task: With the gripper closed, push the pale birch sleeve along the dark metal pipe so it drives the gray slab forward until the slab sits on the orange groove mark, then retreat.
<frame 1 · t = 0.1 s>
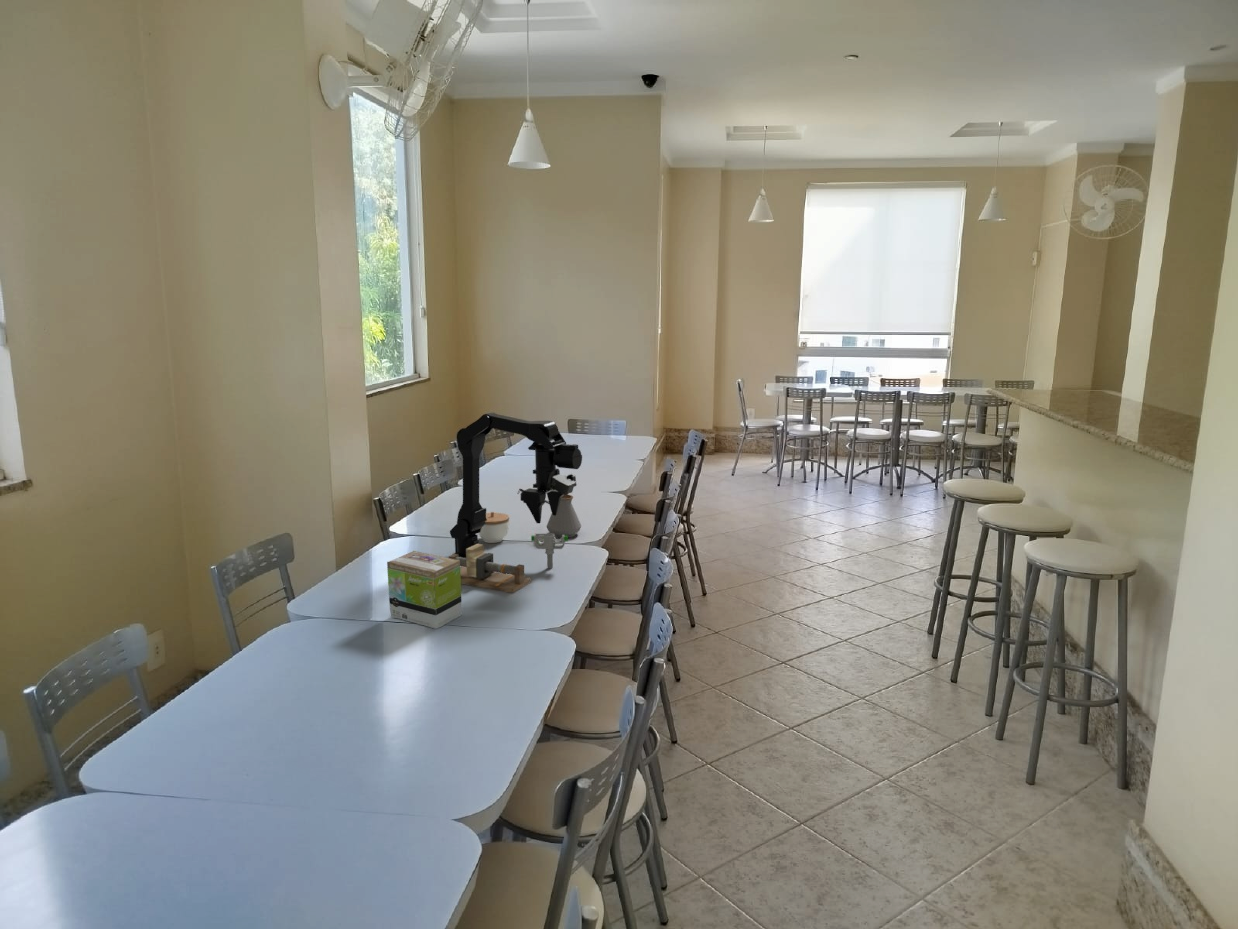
hand: (546, 519, 227), 15 cm above the table, fingers open, 9 cm apart
coffee pot: (549, 534, 264), on the table
sleeve: (476, 560, 219), point 6 cm above the table, slide at 0.0 cm
tea box: (426, 617, 195), on the table
pipe stand: (486, 581, 219), on the table
lidded jar: (493, 540, 256), on the table
gray slab: (485, 565, 218), point 5 cm above the table, slide at 0.0 cm
mechanical component: (549, 568, 230), on the table
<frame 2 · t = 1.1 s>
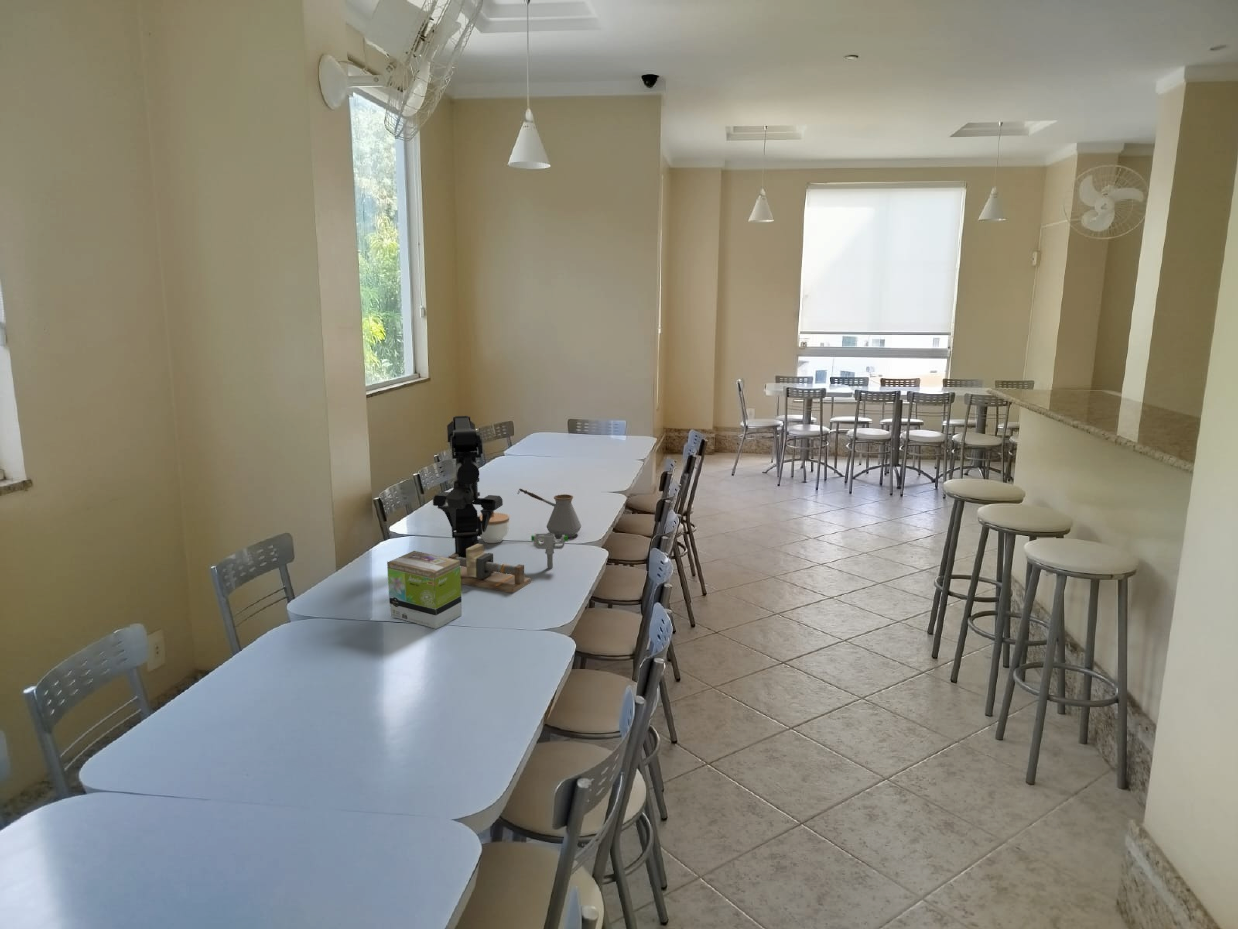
hand: (468, 530, 221), 13 cm above the table, fingers open, 9 cm apart
nothing on the table moved.
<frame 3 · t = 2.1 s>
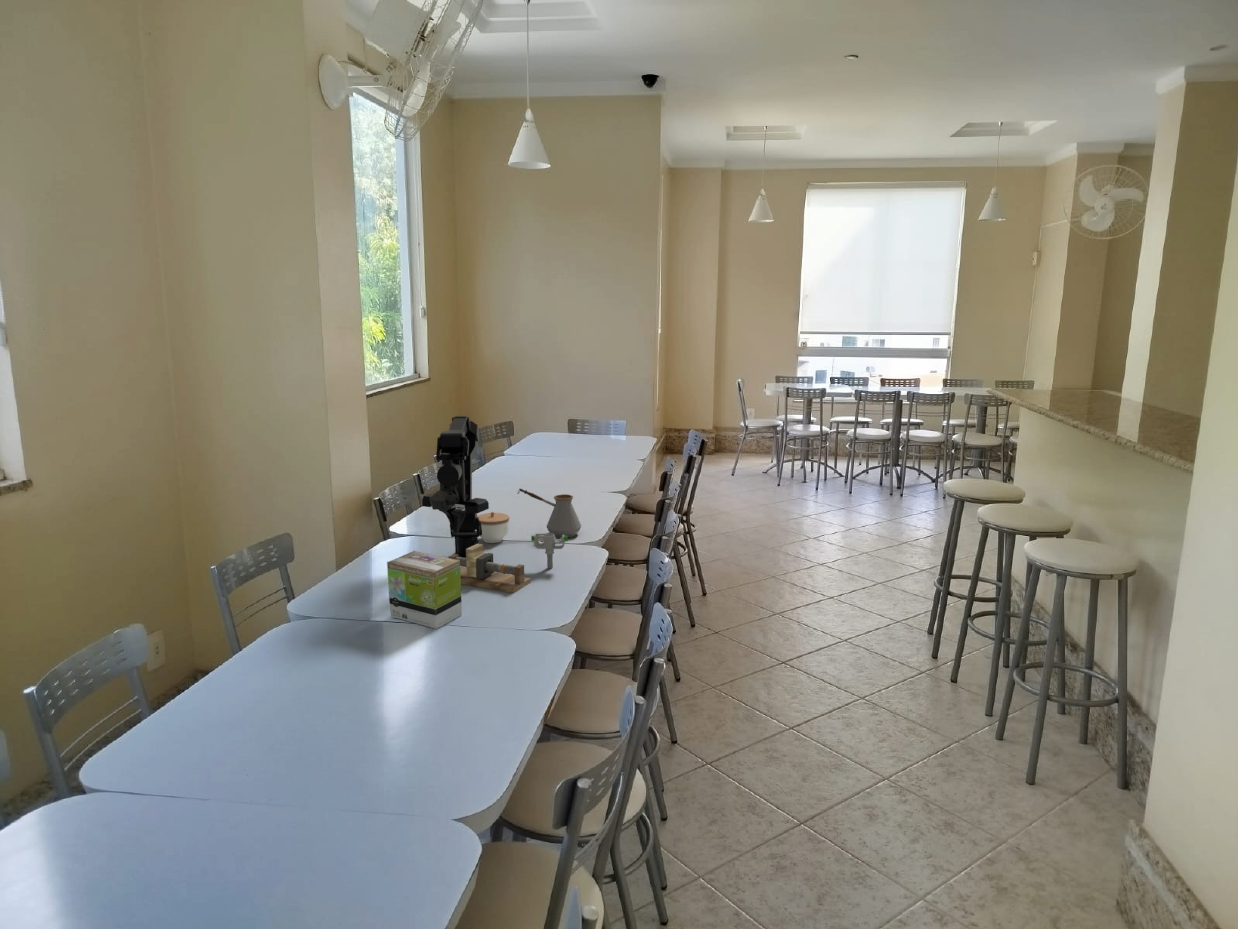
hand: (456, 532, 220), 13 cm above the table, fingers closed
nothing on the table moved.
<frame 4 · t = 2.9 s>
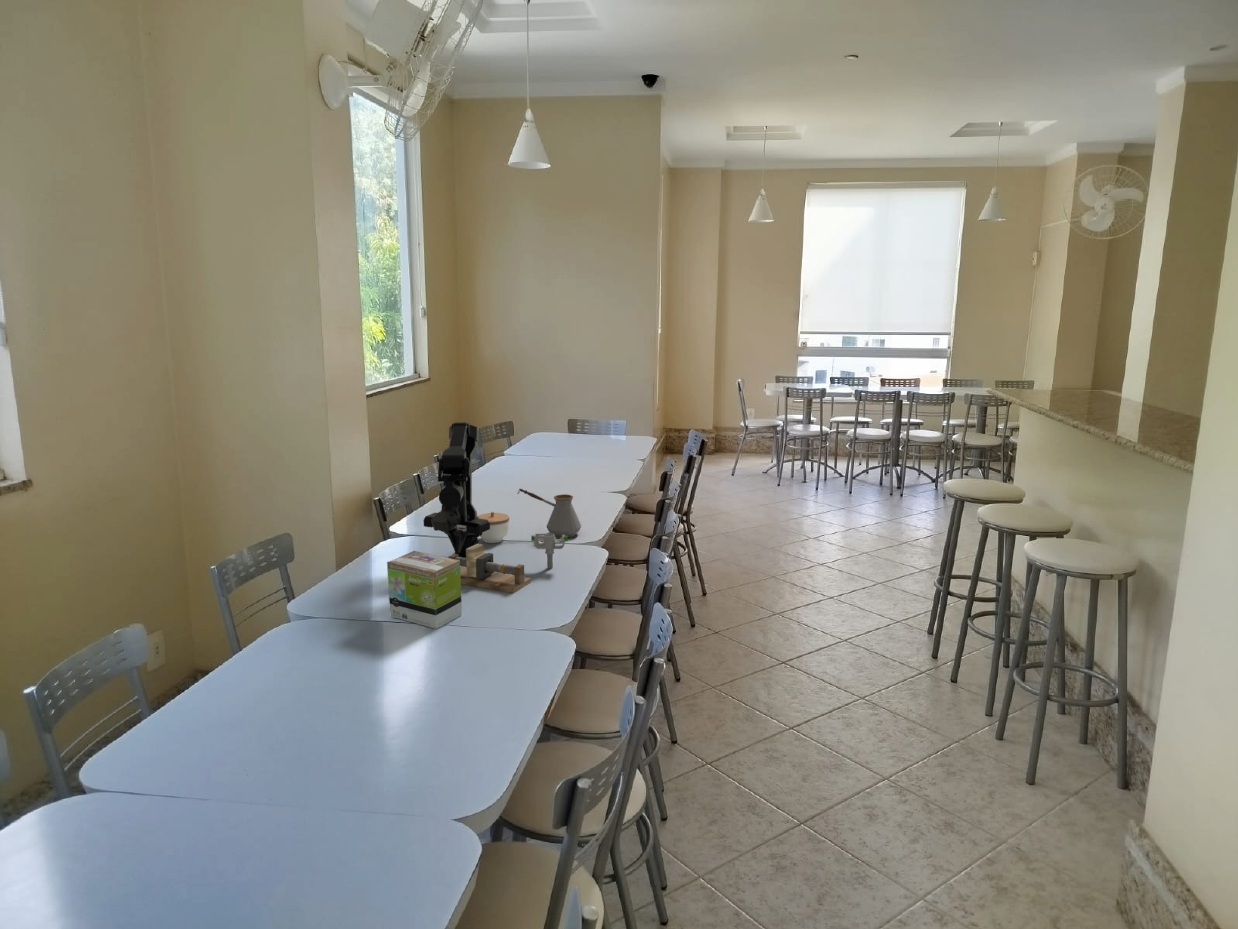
hand: (457, 552, 221), 7 cm above the table, fingers closed
nothing on the table moved.
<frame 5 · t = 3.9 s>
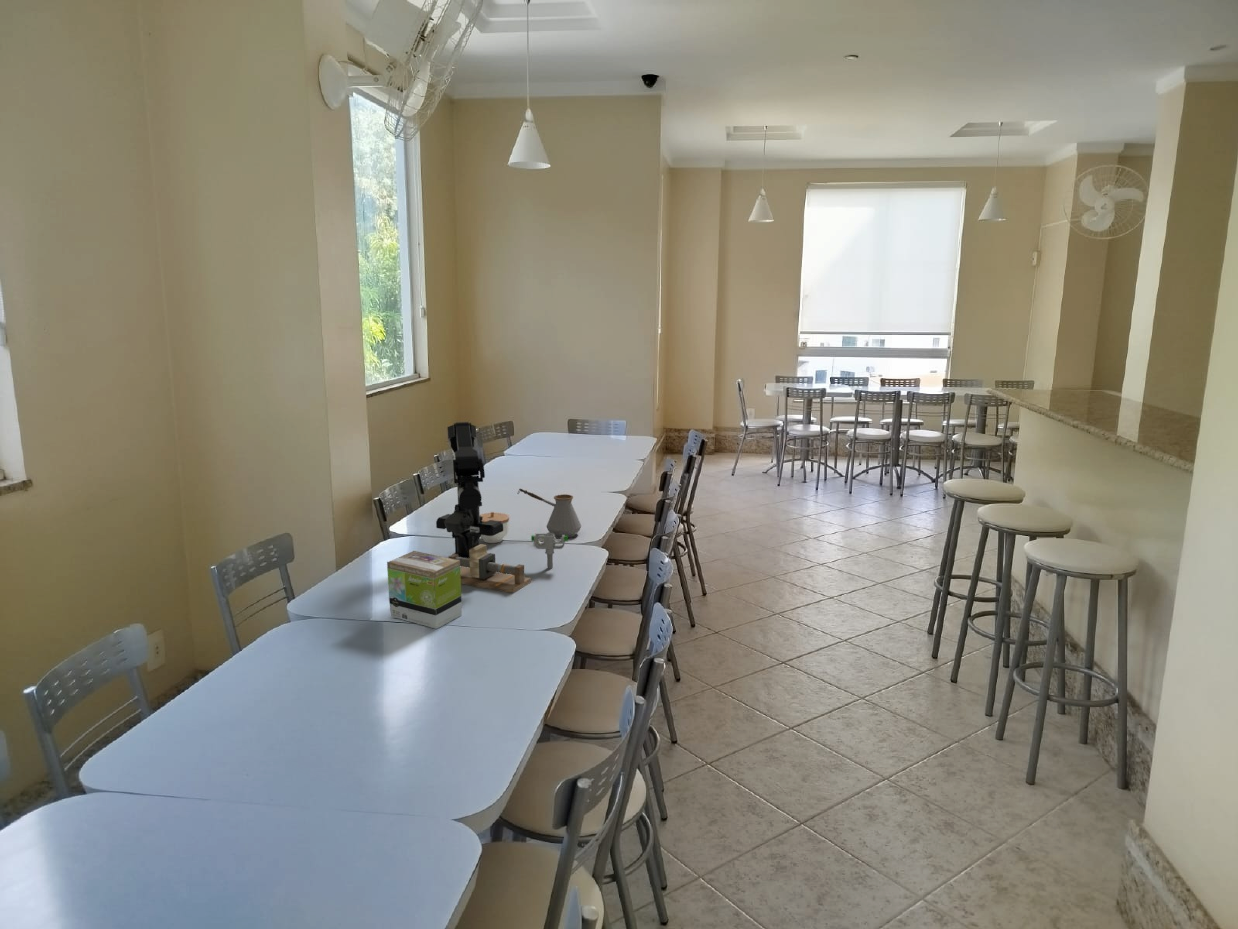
hand: (470, 554, 220), 7 cm above the table, fingers closed
sleeve: (480, 561, 219), point 6 cm above the table, slide at 1.1 cm, touching gripper, gray slab
gray slab: (487, 566, 218), point 5 cm above the table, slide at 0.6 cm, touching sleeve
everything else where it was.
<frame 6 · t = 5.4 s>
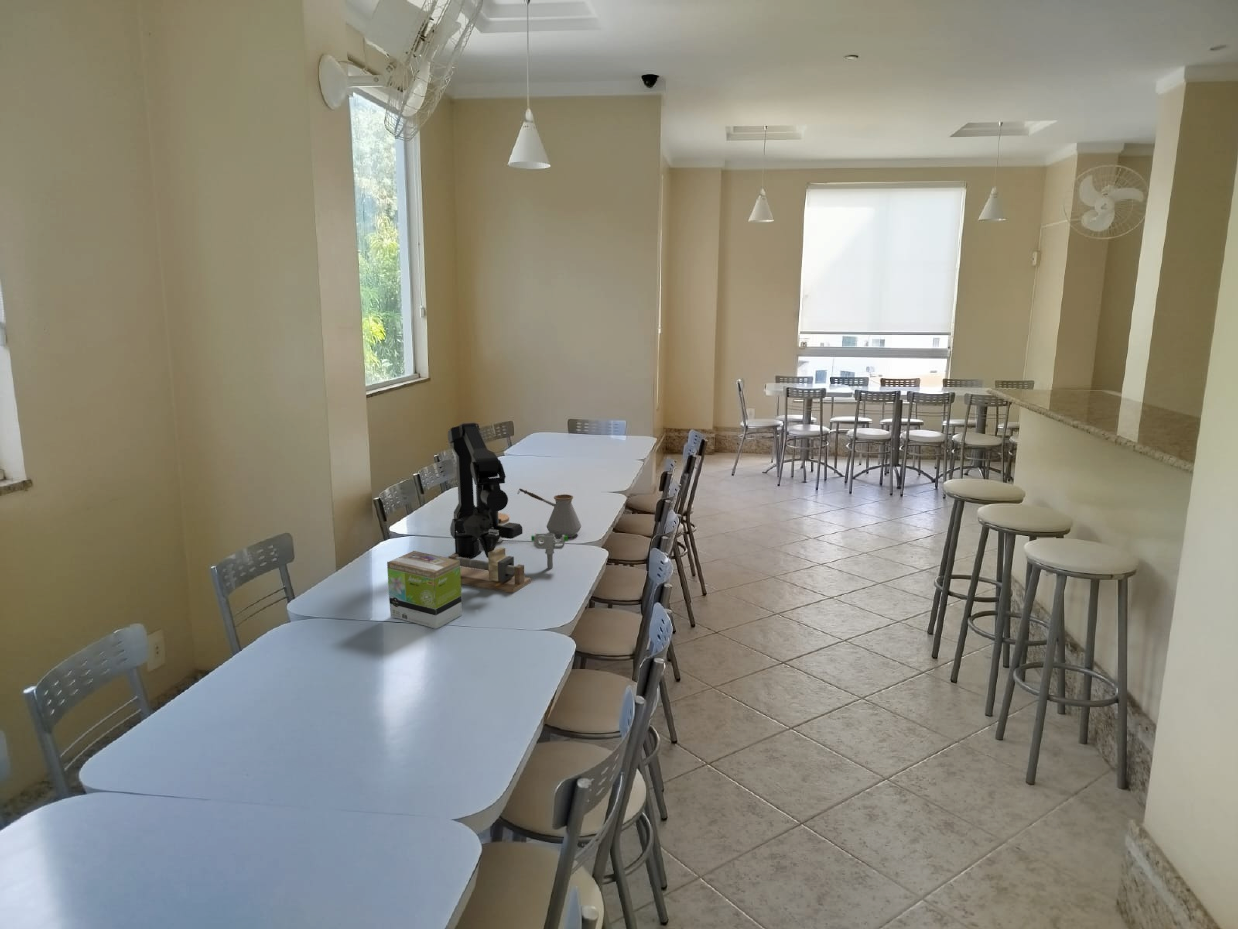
hand: (489, 557, 217), 7 cm above the table, fingers closed
sleeve: (498, 564, 216), point 6 cm above the table, slide at 7.2 cm, touching gripper, gray slab
gray slab: (506, 569, 216), point 5 cm above the table, slide at 6.7 cm, touching sleeve
everything else where it was.
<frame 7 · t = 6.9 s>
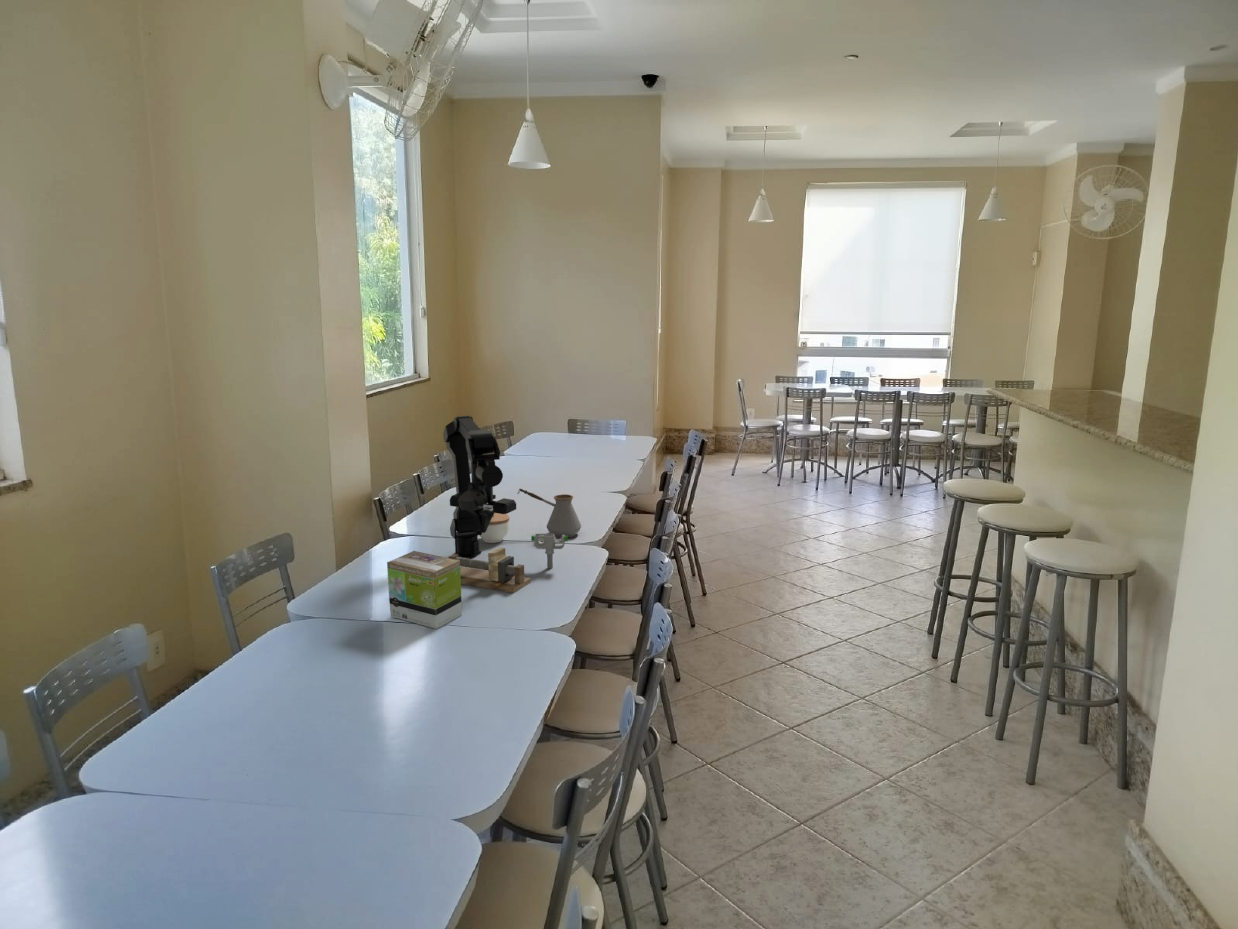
hand: (483, 532, 221), 13 cm above the table, fingers closed
sleeve: (498, 564, 216), point 6 cm above the table, slide at 7.2 cm, touching gray slab
everything else where it was.
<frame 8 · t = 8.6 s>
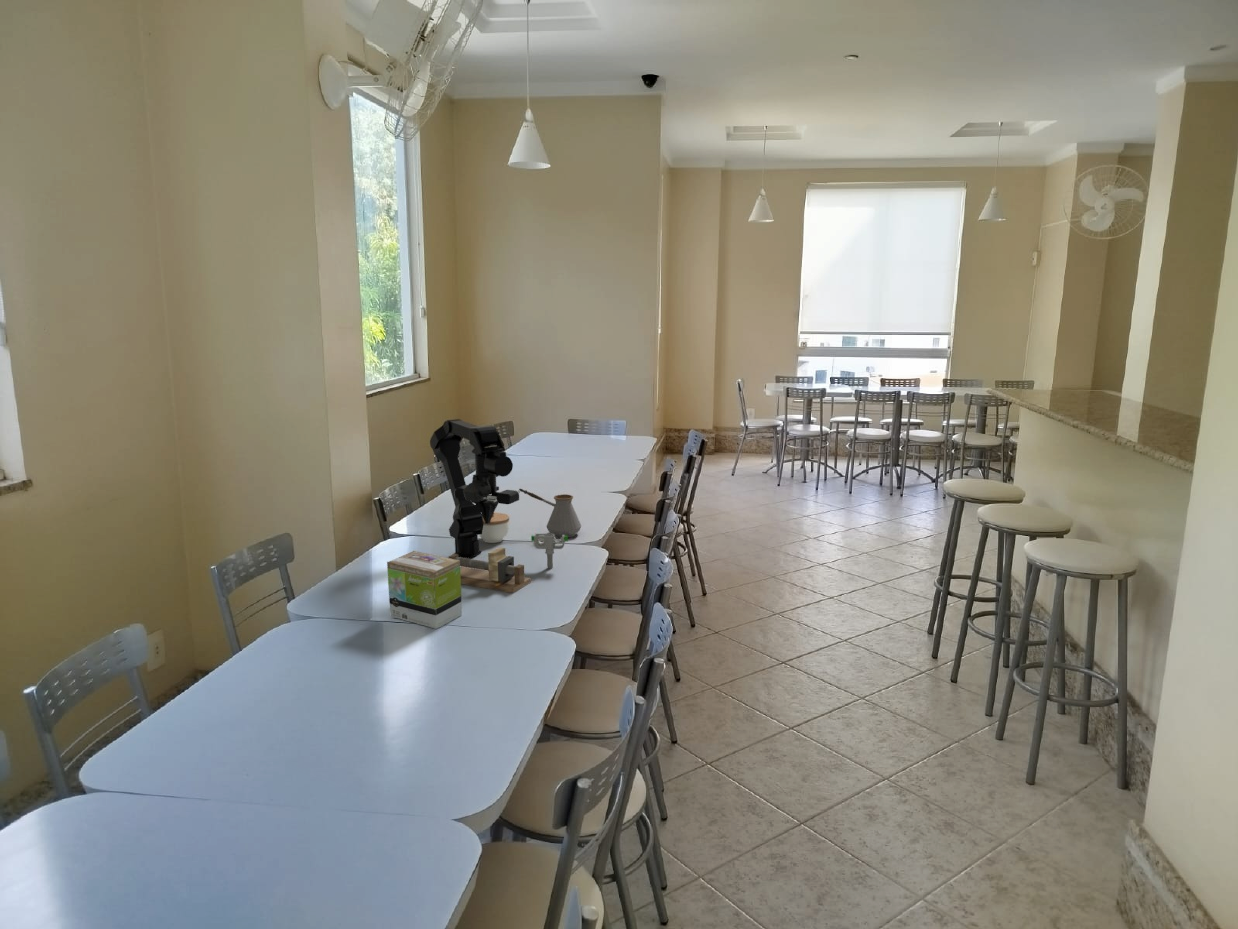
hand: (487, 523, 229), 13 cm above the table, fingers closed
nothing on the table moved.
at the end: gray slab slide at 6.7 cm; sleeve slide at 7.2 cm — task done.
